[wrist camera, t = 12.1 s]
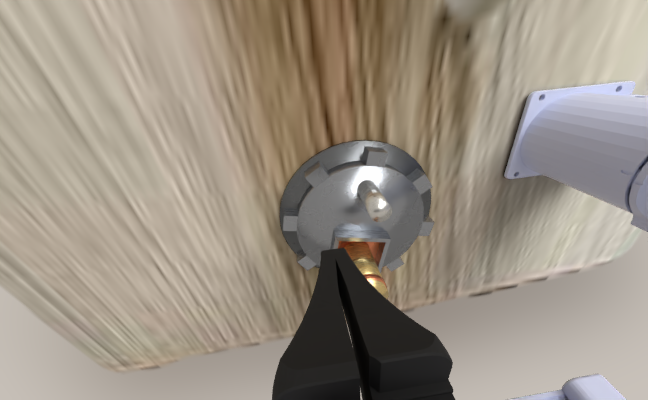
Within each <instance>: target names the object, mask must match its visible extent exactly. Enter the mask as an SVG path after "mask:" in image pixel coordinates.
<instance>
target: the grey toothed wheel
mask: <svg viewBox="0 0 648 400" xmlns="http://www.w3.org/2000/svg"><path fill="white" fill-rule="evenodd" d="M387 156H388V152H387V151H386V150H384V149H383V148H379V147H368V146H365V147H364V151H363V156H362V160H358V161H351V162H347V163H343V164H340V165H338V166H335V167H333V168H331V169H329V170H327V169H326V168H325V167H324V166H323V164H322V163H321V162H320V161H319V160H318V161H317V162H316V163H314V164H313V165H312V166H311V167H309V168H308V169H307V170H306V171H304V173H305V178H306V180H307V181H308V182H309V183H310V184H311V185H310V186H309V187H308V188H307V190H306V191H305V193H304V194H303V196H302V198H301V201H300V203H299V206H298V208H284V221H283V231H297V236H298V240H299V243H300V245H301V248H302V249H301V250H300V251H299V252H297V262H298V263H299V264H300V265H301V266H303V267H304V268H305V269H306V270H307V271H308V270H309V269H311V268H312V267H314V266H315V265H319V266H320V262H321V252H322V251H323V250H330V249H337V248H343V247H345V246H346V245H348V244H350V243H354V242H361V243H364V244H366V245H368V246H369V248H370V250H371V253H372V255H373V257H374V260H375V262H376V264H377V267H378V269H379V271H380V273H381V269H382V267H384V266H387V267H388V268H389V269H390V270H391V271H393V270H395V269H396V268H398V267H400V266H401V265H403V264H404V262H403V261H402V259H401V257H400V256H401V255H402V254H403V253H405V252H406V251H407V250H408V248H409V247H410V246H411V245H412V244H413V242H414V241H415V239H416V238H417V236H418V235H419V236H429V235H430V232H431V230H432V227H433V225H434V222H433V220H432V219H431V218H430V217H429V216H428V215H424V207H423V202H422V198H421V196H420V195H421V194H423V193H424V192H426V191H427V190H429V189H430V188H432V185H431V183H430V182H429V180H428V178H427V177H426V175H425V174H424V173H423V172H422V171H420V170H419V169H418V168H417V169H416V170H414V171H413V172H411V173H410V174H408V175H407V176H405V175H404V174H403V173H401V172H400V171H399V170H398V169H396V168H394V167H392V166H390V165H388V164H386V160H387Z"/></svg>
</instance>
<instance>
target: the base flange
mask: <svg viewBox="0 0 648 400" xmlns="http://www.w3.org/2000/svg"><path fill="white" fill-rule="evenodd" d="M365 146H368V147H379V148H383V149H384V150H386V151H387V152H388V156H387V160H386V164H388V165H390V166H392V167H394V168H396V169H398V170H399V171H400V172H401V173H403V174H404V175H405V176H407V175H408V174H410V173H411V172H413V171H414V170H416V169H417V168H418V169H419V170H420V171H422V172H423V173H424V174H425V172H424V171H423V169H422V168H421V166H420V165H419V164H418V163H417V161H416V160H415V159H414V158H412V157H411V156H410V155H409V154H408V153H406V152H405V151H403V150H401V149H400V148H398V147H396V146H393V145H391V144H388V143H384V142H380V141H373V140H355V141H349V142H344V143H340V144H337V145H334V146H331V147H329V148H327V149H325V150H323V151H321V152H319V153H317V154H316V155H314V156H313V157H311V158H310V159H309V160H308V161H306V162H305V163H304V164H303V165H302V166H301V167H300V168H299V169H298V170H297V171H296V172H295V174H294V175H293V177H292V178H291V179H290V181H289V183H288V185H287V187H286V189H285V191H284V194H283V197H282V201H281V206H280V223H281V229H282V232H283V235H284V237H285V239H286V241H287V243H288V245H289V246H290V247H291V249H292V250H293V251H294V252H295V253H296V254H297V252H299V251H300V250H301V249H302V248H301V245H300V243H299V240H298V236H297V231H283V221H284V208H298V206H299V203H300V201H301V198H302V196H303V194H304V193H305V191H306V190H307V188H308V187H309V186H310V185H311V184H310V183H309V182H308V181H307V180H306V178H305V173H304V171H306V170H307V169H308V168H309V167H311V166H312V165H313V164H314V163H316V162H317V161H318V160H319V161H320V162H321V163H322V164H323V166H324V167H325V168H326V169H327V170H329V169H331V168H333V167H335V166H338V165H340V164H343V163H347V162H351V161H358V160H362V156H363V151H364V147H365ZM425 175H426V174H425ZM420 196H421V198H422V202H423V207H424V215H429V210H430V204H431V192H430V189H429V190H427V191H426V192H424V193H423V194H421V195H420ZM315 266H316V267H318V268H320V266H319V265H315Z"/></svg>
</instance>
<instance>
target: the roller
mask: <svg viewBox="0 0 648 400" xmlns="http://www.w3.org/2000/svg"><path fill="white" fill-rule="evenodd" d="M343 248H345V249H346V251H347V253H348V254H349V256H350V258H351V259H352V261H353V262H354V263H355V265H356V266H357V268H358V269H359V270H360V271H361V273H362V274H363V275H364V276H365V277H366V279H367V280H368V281H369V282H370V283H371V284H372V285H373V286H374V287H375V289H376V290H377V291H378V292H379V293H381V294H382V295H383V296H384V297H385V298H386V299H387V298H388V295H389V294H388V290H387V286H386V284H385V282H384V280H383V278H382V276H381V274H380V271H379V269H378V267H377V264H376V262H375V260H374V257H373V255H372V253H371V250H370V248H369V246H368V245H366V244H364V243H361V242H354V243H350V244H348V245H346V246H345V247H343Z"/></svg>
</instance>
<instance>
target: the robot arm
mask: <svg viewBox="0 0 648 400" xmlns="http://www.w3.org/2000/svg"><path fill="white" fill-rule="evenodd" d="M634 87H635V82H634V81H624V82H615V83H606V84H597V85H588V86H579V87H570V88H560V89H551V90H542V91H534V92H532V93H531V94H530V95H529V96H528V98H527V101H526V105H525V108H524V111H523V114H522V118H521V121H520V124H519V128H518V131H517V134H516V137H515V141H514V144H513V147H512V151H511V154H510V157H509V160H508V164H507V167H506V170H505V174H504V177H505V178H507V179H516V178H523V177H531V176H539V175H544V176H547V177H549V178H551V179H554V180H556V181H558V182H560V183H563V184H565V185H567V186H570V187H572V188H574V189H577V190H579V191H581V192H584V193H586V194H588V195H591V196H593V197H595V198H598V199H600V200H602V201H604V202H607V203H609V204H611V205H614V206H616V207H618V208H621V209H623V210H625V211H628V212H630V213H632V214H633V219H632V221H631V224H632V225H634V226H636V227H638V228H640V229H643V230H645V231H647V232H648V96H646V95H634V94H632V92H633V89H634ZM540 96H541V97H540ZM539 97H540V99H539ZM342 307H343V308H342ZM343 310H344V312H343ZM344 314H345V316H344ZM345 317H346V320H345ZM346 321H347V324H348V327H349V332H350V336H351V340H352V343H351V340H350V336H349V332H348V328H347V324H346ZM352 346H353V347H352ZM452 363H453V362H452V360H451V358H450V356H449V354H448V352H447V350H446V349H445V347H444V346H443V344H442V343H441V341H440V340H439V339H438V337H437V336H436V335H435V334H434V333H432V332H430V331H429V330H427V329H425V328H424V327H422V326H421V325H419V324H418V323H416V322H415V321H414V320H412V319H411V318H409V317H408V316H407V315H405V314H404V313H403V312H401V311H400V310H399V309H398V308H396V307H395V306H394V305H393V304H391V303H390V302H389V301H388V300H387V299H386V298H385V297H384V296H383V295H382V294H381V293H379V292H378V291H377V290H376V289H375V287H374V286H373V285H372V284H371V283H370V282H369V281H368V280H367V279H366V277H365V276H364V275H363V274H362V273H361V271H360V270H359V269H358V268H357V266H356V265H355V263H354V262H353V261H352V259H351V258H350V256H349V254H348V253H347V251H346V249H345V248H337V249H330V250H323V251H322V252H321V262H320V269H319V274H318V279H317V282H316V286H315V289H314V293H313V296H312V299H311V301H310V304H309V307H308V309H307V311H306V314H305V316H304V318H303V320H302V322H301V324H300V326H299V328H298V330H297V332H296V334H295V336H294V338H293V339H292V341H291V343H290V345H289V346H288V348H287V349H286V351H285V353H284V354H283V356H282V357H281V359H280V362H279V365H278V368H277V372H276V375H275V380H274V385H273V394H272V400H360V388H361V393H362V399H363V400H455V398H454V396H453V394H452V393H453V388H452V386H451V384H450V382H449V380H448V378H449V374H450V372H451V368H452ZM507 400H626V399H625V398H624V397H623V396H622V395H621V394H620V393H619V392H618V391H617V390H616V389H615V388H614V387H613V386H612V385H611V384H610V383H609V382H608V381H607V380H606V379H605V378H604V377H603V376H602V375H600V374H594V375H588V376H582V377H577V378H573V379H570V380H568V381H567V382H566V383H565V384H564V385H563V387H562V390H557V391H551V392H546V393H540V394H535V395H529V396H524V397H518V398H513V399H507Z"/></svg>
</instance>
